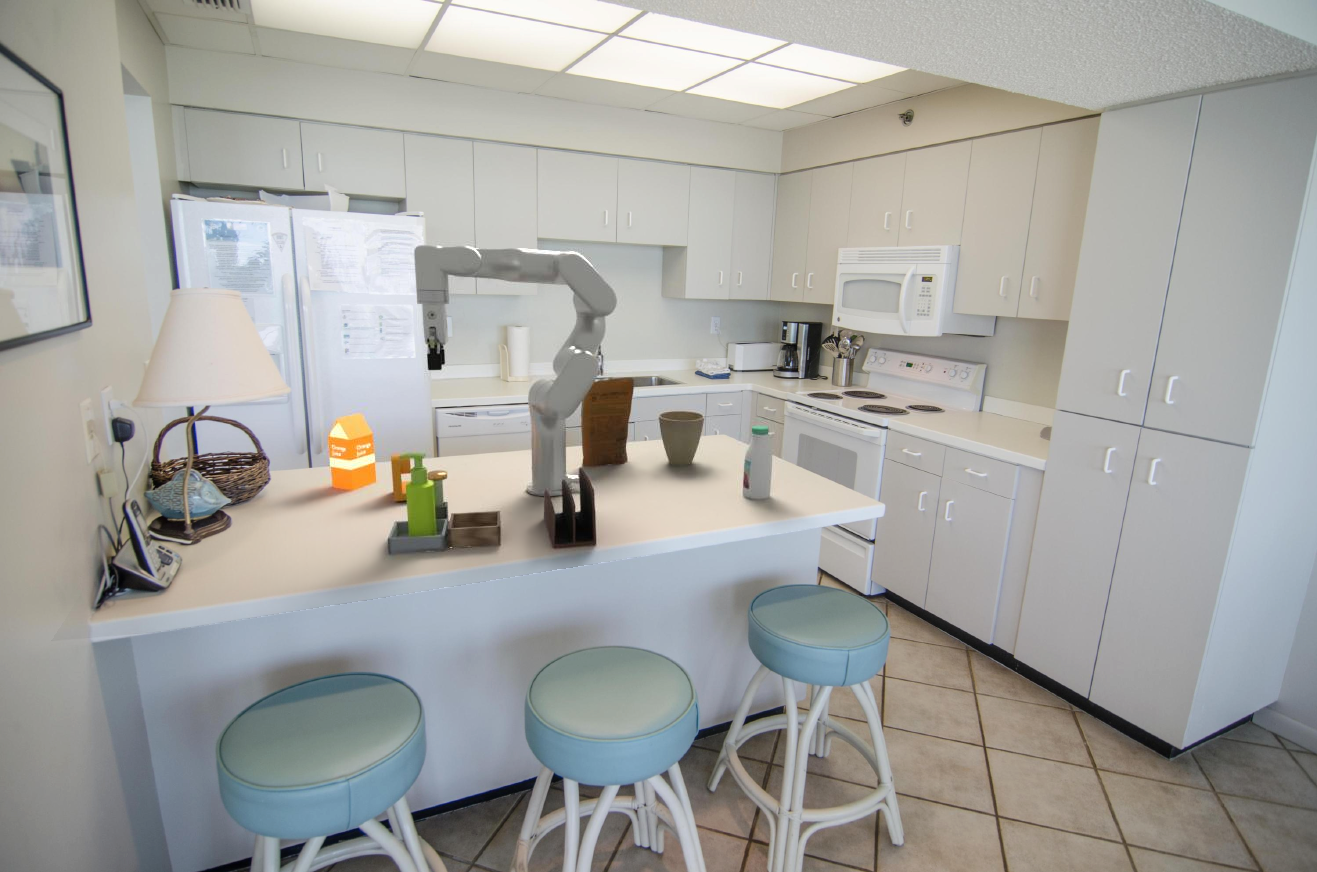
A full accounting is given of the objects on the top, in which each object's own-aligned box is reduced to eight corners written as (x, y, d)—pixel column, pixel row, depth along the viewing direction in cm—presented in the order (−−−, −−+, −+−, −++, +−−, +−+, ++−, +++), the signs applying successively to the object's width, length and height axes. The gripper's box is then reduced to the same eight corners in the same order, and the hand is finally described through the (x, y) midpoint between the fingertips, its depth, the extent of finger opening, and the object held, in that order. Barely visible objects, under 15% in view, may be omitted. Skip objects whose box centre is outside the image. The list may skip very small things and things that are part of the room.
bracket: (423, 501, 179) (420, 458, 176) (394, 504, 177) (391, 460, 174) (421, 489, 189) (418, 448, 186) (393, 491, 186) (390, 450, 183)
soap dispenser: (408, 534, 155) (403, 450, 150) (439, 534, 155) (434, 450, 151) (401, 544, 149) (395, 457, 144) (433, 544, 150) (428, 457, 145)
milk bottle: (773, 494, 192) (777, 426, 187) (765, 502, 185) (770, 431, 181) (747, 490, 195) (751, 422, 190) (738, 497, 188) (742, 428, 184)
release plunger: (450, 519, 163) (447, 470, 160) (448, 526, 159) (446, 475, 156) (431, 520, 162) (428, 470, 159) (429, 527, 158) (426, 476, 155)
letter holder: (582, 515, 172) (582, 462, 169) (596, 545, 153) (596, 487, 150) (543, 518, 169) (542, 464, 166) (552, 549, 151) (551, 489, 147)
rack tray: (448, 532, 158) (447, 518, 158) (445, 550, 148) (444, 535, 147) (396, 535, 156) (395, 521, 155) (388, 554, 146) (387, 539, 145)
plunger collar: (451, 523, 164) (450, 500, 162) (450, 531, 159) (449, 507, 158) (430, 525, 163) (429, 501, 161) (428, 532, 158) (426, 508, 157)
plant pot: (660, 455, 230) (661, 409, 226) (704, 458, 228) (706, 412, 224) (654, 467, 215) (655, 419, 211) (700, 470, 213) (702, 421, 210)
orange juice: (331, 486, 189) (325, 417, 184) (356, 478, 197) (350, 411, 192) (353, 490, 186) (347, 420, 181) (377, 482, 194) (371, 414, 189)
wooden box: (500, 528, 162) (500, 510, 161) (500, 545, 152) (500, 526, 151) (452, 531, 159) (451, 513, 158) (449, 548, 150) (448, 529, 149)
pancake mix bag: (637, 463, 220) (639, 378, 213) (583, 470, 211) (583, 381, 204) (628, 458, 226) (629, 375, 219) (575, 464, 216) (575, 378, 210)
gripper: (446, 299, 157) (449, 372, 161) (451, 296, 174) (454, 362, 178) (412, 299, 156) (416, 372, 160) (421, 296, 172) (424, 362, 176)
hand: (436, 367), depth 169 cm, fingers open, 9 cm apart
